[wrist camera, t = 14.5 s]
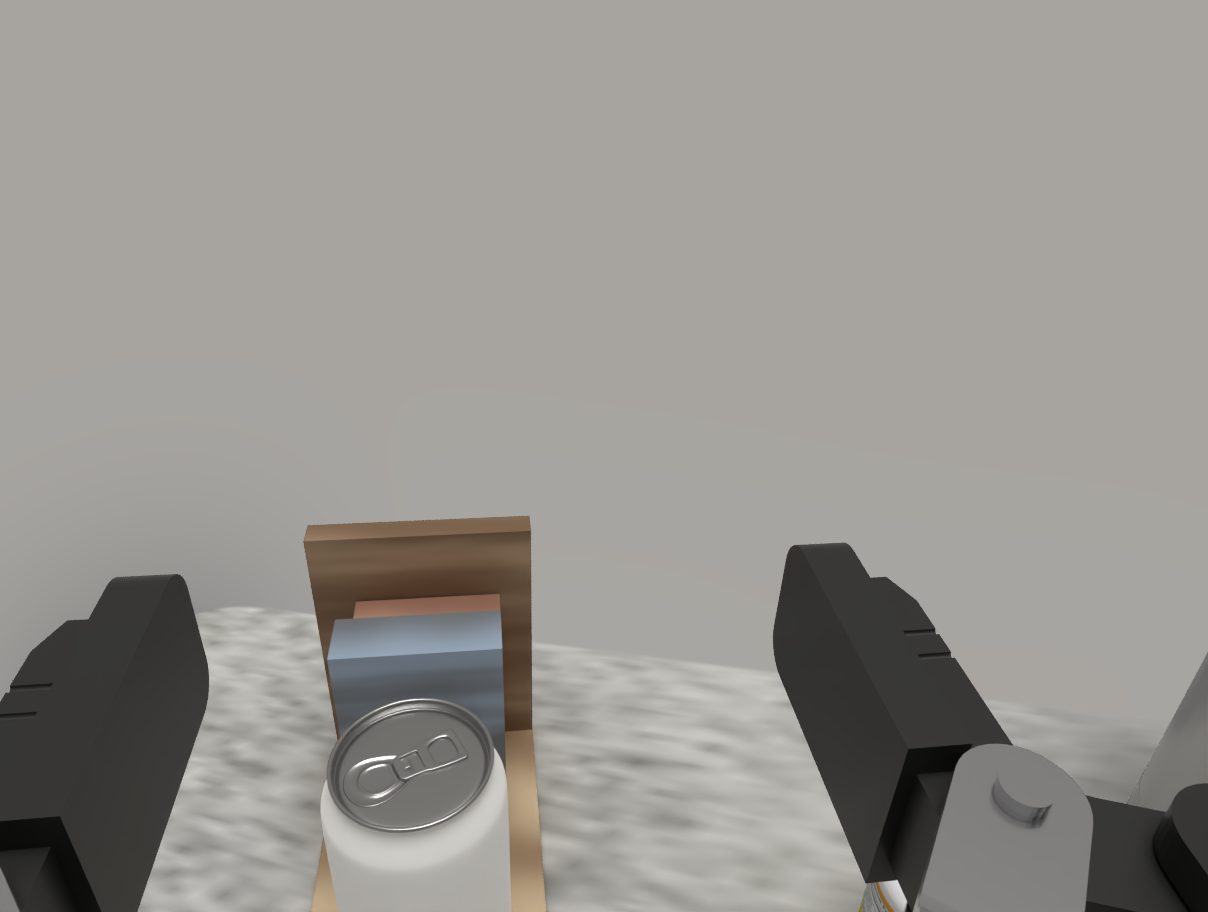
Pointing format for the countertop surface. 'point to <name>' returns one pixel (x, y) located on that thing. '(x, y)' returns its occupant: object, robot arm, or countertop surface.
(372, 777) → the can
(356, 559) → the wooden bookend
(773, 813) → the countertop surface
